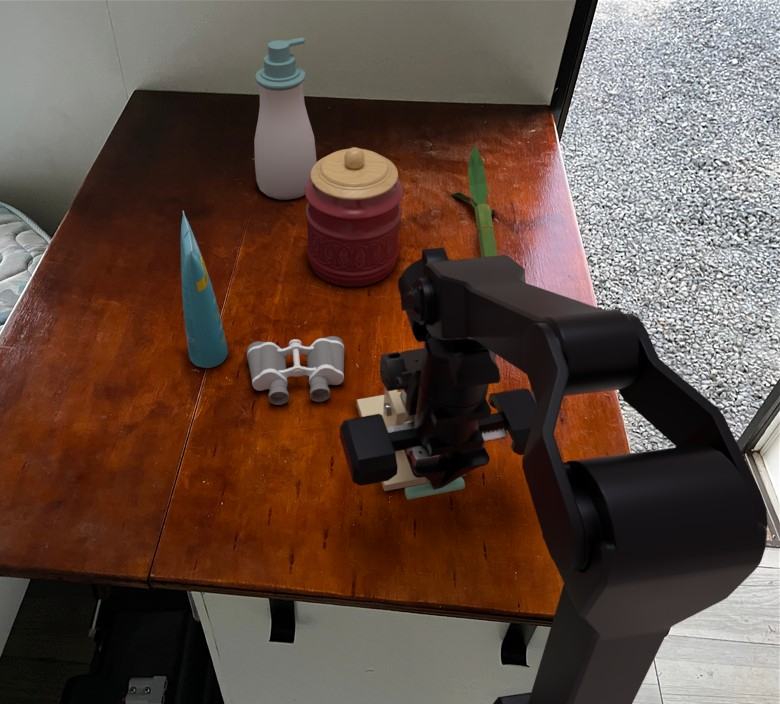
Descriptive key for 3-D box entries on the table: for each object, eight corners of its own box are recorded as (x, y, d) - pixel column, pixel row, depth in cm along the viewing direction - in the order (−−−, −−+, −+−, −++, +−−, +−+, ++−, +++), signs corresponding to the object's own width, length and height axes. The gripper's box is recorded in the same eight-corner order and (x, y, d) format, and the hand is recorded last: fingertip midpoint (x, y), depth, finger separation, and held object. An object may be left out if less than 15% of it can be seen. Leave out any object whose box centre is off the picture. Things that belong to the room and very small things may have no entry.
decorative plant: (469, 310, 90) (449, 148, 106) (469, 345, 97) (450, 188, 113) (518, 306, 89) (490, 142, 105) (515, 341, 96) (489, 183, 112)
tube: (234, 369, 87) (215, 244, 74) (196, 380, 86) (169, 255, 73) (220, 330, 92) (199, 206, 79) (183, 339, 91) (156, 215, 78)
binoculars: (343, 351, 89) (343, 331, 87) (350, 400, 84) (351, 380, 81) (248, 358, 89) (245, 338, 86) (249, 407, 83) (246, 388, 81)
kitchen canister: (292, 275, 100) (285, 164, 87) (328, 224, 108) (327, 116, 95) (379, 299, 96) (385, 186, 83) (410, 244, 104) (420, 134, 91)
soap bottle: (327, 191, 114) (325, 49, 98) (271, 208, 111) (260, 65, 95) (301, 163, 120) (295, 25, 104) (247, 178, 117) (233, 39, 101)
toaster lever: (461, 490, 73) (467, 486, 71) (405, 501, 72) (409, 497, 70) (433, 391, 77) (438, 384, 75) (380, 401, 76) (383, 393, 74)
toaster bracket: (465, 475, 76) (475, 431, 70) (384, 491, 75) (388, 447, 69) (430, 392, 84) (436, 346, 78) (356, 406, 83) (357, 360, 77)
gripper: (519, 303, 67) (493, 408, 78) (325, 334, 64) (327, 438, 76) (573, 390, 59) (535, 493, 70) (356, 429, 57) (352, 529, 68)
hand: (435, 485), depth 71 cm, fingers closed, pressing on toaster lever
